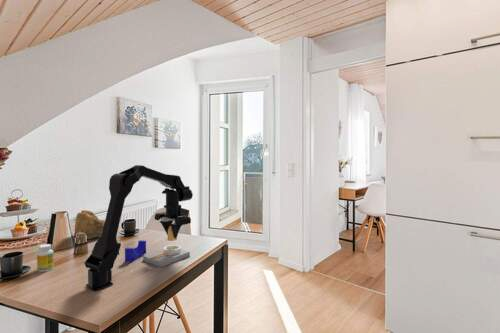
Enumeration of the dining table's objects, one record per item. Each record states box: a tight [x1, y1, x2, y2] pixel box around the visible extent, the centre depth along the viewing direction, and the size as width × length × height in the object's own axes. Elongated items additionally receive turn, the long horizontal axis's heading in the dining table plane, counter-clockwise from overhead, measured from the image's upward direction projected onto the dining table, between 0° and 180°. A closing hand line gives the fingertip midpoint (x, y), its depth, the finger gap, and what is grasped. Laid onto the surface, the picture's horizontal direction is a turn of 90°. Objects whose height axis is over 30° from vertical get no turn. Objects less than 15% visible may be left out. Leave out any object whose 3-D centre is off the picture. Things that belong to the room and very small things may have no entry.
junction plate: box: [142, 244, 191, 268], centre depth 126 cm, size 16×12×4 cm
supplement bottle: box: [36, 243, 55, 273], centre depth 112 cm, size 5×5×10 cm
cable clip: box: [124, 239, 147, 263], centre depth 127 cm, size 12×4×6 cm, turn 171°
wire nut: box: [167, 226, 178, 242], centre depth 128 cm, size 4×4×6 cm
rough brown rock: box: [73, 209, 105, 240], centre depth 156 cm, size 23×17×15 cm
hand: (172, 237), depth 128 cm, fingers closed on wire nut, 4 cm apart
